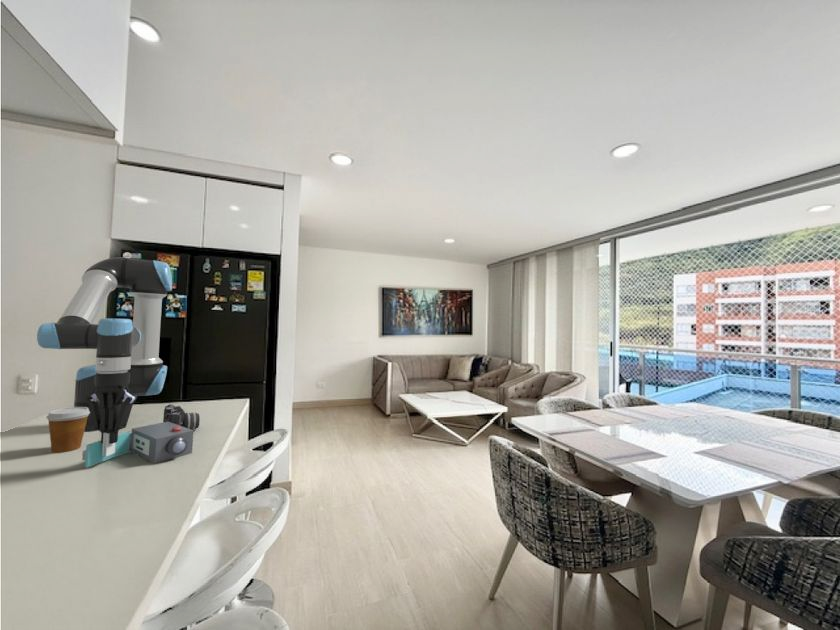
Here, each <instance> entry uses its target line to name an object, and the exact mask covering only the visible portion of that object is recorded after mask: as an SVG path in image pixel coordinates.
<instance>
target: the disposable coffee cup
mask: <svg viewBox="0 0 840 630" xmlns="http://www.w3.org/2000/svg"><path fill="white" fill-rule="evenodd" d="M89 414H90V411H89V409H88V408H87V407H74V406H71V407H65V408H63V407H62V408H58V409H53V410H50V411H49V412H48V415H47V416H46V419H47V421H48V430H49V437H50V438H49V439H50V446H51V448H50V449H51V452H52V453H65V452H66V453H67V452H72V451H75V450H78V449H80V448H81V446H82V442H83V438H84V433H85V431H84V430H85V426H86V422H87V418H88V415H89Z"/></svg>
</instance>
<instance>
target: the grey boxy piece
mask: <svg viewBox="0 0 840 630" xmlns="http://www.w3.org/2000/svg"><path fill="white" fill-rule="evenodd" d="M131 431H132V441H131V451H130V452H131V453H133V454H134V455H138V456H139V457H142V458H143V459H145V460H147V461H149V462H151V463H153V464H158V463H161V462H165V461H168V460H171V459H176V458H178V457H182V456H185V455H190V454H193V446H194V445H193V443H194V430H191V429H188V428H185V427H182V426H180V425H177V424H174V423H171V422H163V421H162V422H159V423H153V424H149V425H145V426H139V427H134V428H133V427H132V428H131Z"/></svg>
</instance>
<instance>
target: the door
mask: <svg viewBox="0 0 840 630" xmlns="http://www.w3.org/2000/svg"><path fill="white" fill-rule="evenodd" d="M131 441H132V430H128V431H126V432H124V433H118V441H117V442H115V453H113V454H111V455H109V456H102V453H103V443H101V439H100V440H97V441H95V442H91V443H88V444H86V445H85V447H86V448H85V450H83V451H82V461H84V467H85V468H88V467H91V466H95V465H97V464H99V463H103V462H104V461H108V460H110V459H113V458H116V457H118V456H121V455H123V454H126V453H129V452H131Z"/></svg>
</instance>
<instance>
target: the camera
mask: <svg viewBox="0 0 840 630" xmlns="http://www.w3.org/2000/svg"><path fill="white" fill-rule="evenodd" d="M200 420H201V418H200V414H199V413H197V412H194V411H193V412H185V410H184V409H183V408H182V407H181V406H180V405H178V406H176V405H173V404H171V403H170V404H167V405H166V406H164V409H163V419H162V423H163V422H171V423H174V424H177V425H180V426H182V427H185V428H188V429H191V430H193V431H195V430H197V429H199V427H200V423H201V422H200Z"/></svg>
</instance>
